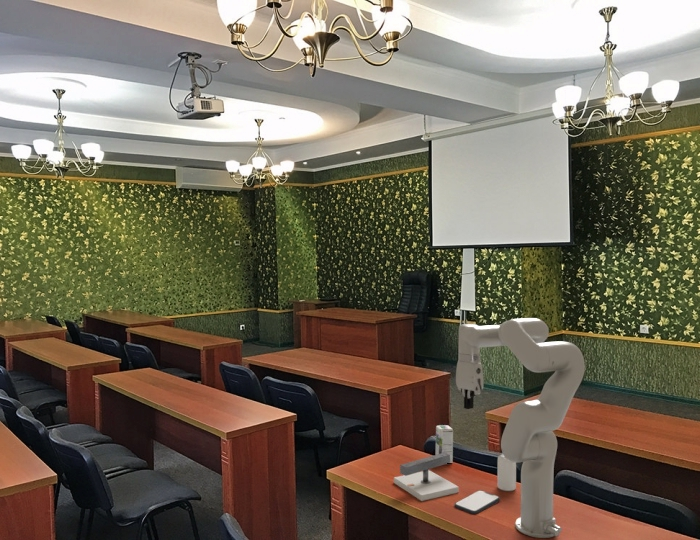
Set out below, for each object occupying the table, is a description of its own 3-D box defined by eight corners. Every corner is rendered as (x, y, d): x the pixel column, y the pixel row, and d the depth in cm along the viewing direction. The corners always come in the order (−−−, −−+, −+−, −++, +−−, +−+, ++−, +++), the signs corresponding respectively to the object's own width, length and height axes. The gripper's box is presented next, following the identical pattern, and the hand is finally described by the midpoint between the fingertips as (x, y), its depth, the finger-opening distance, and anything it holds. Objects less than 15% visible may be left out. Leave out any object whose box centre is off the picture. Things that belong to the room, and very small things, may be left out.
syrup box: (434, 460, 235) (435, 425, 235) (448, 459, 236) (448, 424, 236) (439, 464, 229) (439, 429, 229) (453, 464, 230) (453, 428, 230)
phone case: (475, 517, 184) (501, 501, 195) (475, 512, 184) (501, 497, 195) (452, 508, 191) (479, 493, 202) (452, 503, 191) (479, 489, 202)
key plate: (458, 492, 202) (458, 486, 202) (421, 501, 195) (421, 494, 195) (429, 475, 218) (429, 469, 218) (393, 482, 211) (393, 476, 211)
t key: (443, 473, 214) (444, 452, 214) (449, 476, 212) (449, 454, 212) (400, 487, 201) (400, 464, 201) (405, 490, 199) (405, 467, 199)
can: (513, 484, 209) (514, 452, 209) (517, 492, 203) (517, 458, 202) (496, 484, 210) (496, 452, 210) (498, 491, 203) (499, 458, 203)
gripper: (491, 360, 202) (491, 411, 202) (462, 354, 214) (461, 402, 215) (476, 362, 198) (476, 414, 198) (447, 356, 210) (446, 405, 211)
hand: (468, 408), depth 206 cm, fingers closed
